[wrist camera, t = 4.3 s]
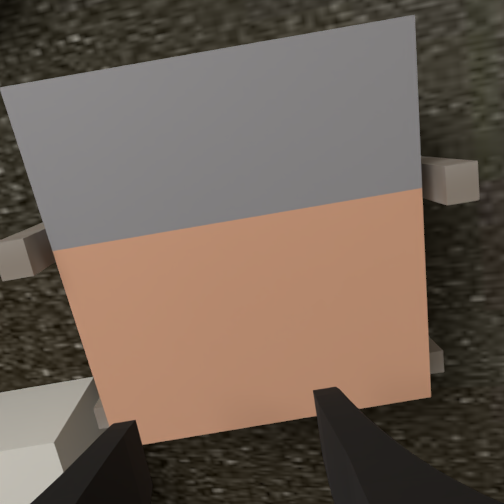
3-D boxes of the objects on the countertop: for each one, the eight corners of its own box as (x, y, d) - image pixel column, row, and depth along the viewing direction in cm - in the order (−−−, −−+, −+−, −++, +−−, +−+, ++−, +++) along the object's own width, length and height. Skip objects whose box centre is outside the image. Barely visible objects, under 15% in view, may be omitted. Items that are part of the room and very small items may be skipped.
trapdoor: (402, 354, 20) (431, 397, 17) (133, 399, 20) (116, 449, 17) (381, 31, 16) (414, 14, 13) (41, 90, 16) (-1, 87, 13)
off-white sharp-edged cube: (118, 461, 23) (87, 545, 18) (24, 477, 23) (-32, 565, 18) (94, 376, 22) (53, 442, 17) (-6, 392, 22) (-74, 463, 17)
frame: (418, 350, 22) (489, 433, 16) (119, 400, 22) (73, 502, 16) (390, 22, 19) (468, -39, 12) (34, 85, 19) (-70, 56, 12)
